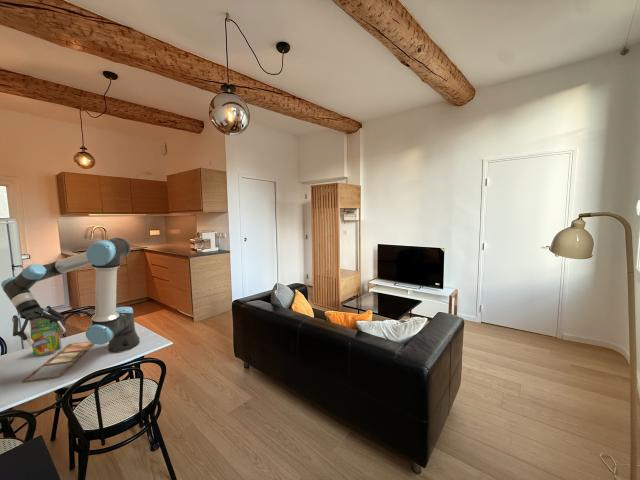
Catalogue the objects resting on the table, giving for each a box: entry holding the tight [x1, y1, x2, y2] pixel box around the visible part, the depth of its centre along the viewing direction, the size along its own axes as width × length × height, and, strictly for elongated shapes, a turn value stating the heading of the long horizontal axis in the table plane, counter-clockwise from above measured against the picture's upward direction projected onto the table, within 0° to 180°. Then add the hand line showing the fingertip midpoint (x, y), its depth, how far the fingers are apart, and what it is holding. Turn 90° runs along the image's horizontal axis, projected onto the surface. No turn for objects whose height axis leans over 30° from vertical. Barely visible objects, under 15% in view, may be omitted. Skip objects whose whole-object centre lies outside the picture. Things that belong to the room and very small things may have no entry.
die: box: [37, 336, 63, 357], centre depth 153 cm, size 7×7×7 cm
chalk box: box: [30, 319, 61, 357], centre depth 133 cm, size 9×9×15 cm
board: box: [21, 341, 96, 384], centre depth 146 cm, size 35×14×1 cm, turn 14°
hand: (48, 337), depth 132 cm, fingers closed on chalk box, 12 cm apart
